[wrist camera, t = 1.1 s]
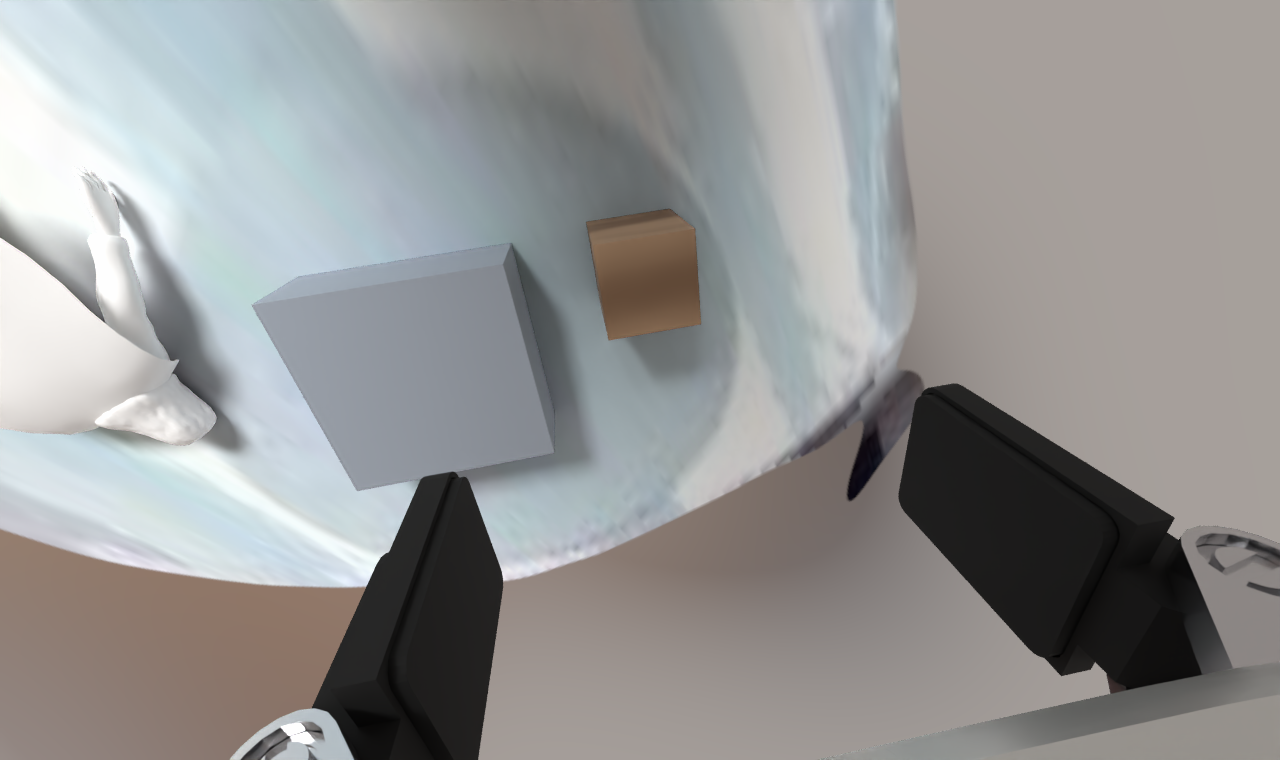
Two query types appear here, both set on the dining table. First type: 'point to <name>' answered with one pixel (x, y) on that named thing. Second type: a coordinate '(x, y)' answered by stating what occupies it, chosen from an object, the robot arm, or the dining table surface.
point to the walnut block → (645, 272)
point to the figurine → (89, 346)
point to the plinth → (417, 363)
